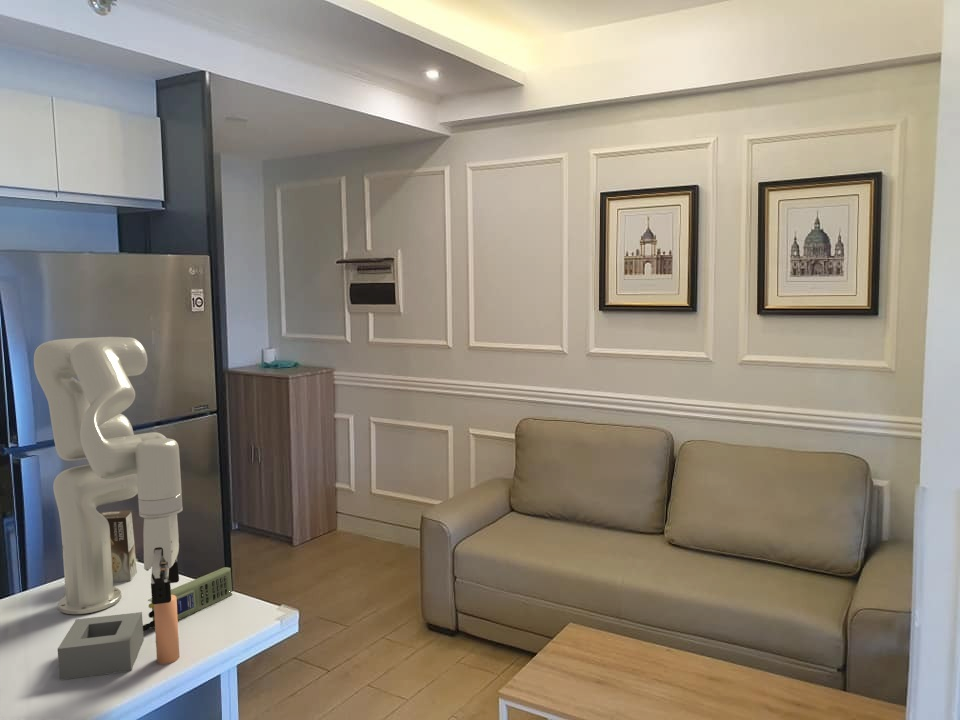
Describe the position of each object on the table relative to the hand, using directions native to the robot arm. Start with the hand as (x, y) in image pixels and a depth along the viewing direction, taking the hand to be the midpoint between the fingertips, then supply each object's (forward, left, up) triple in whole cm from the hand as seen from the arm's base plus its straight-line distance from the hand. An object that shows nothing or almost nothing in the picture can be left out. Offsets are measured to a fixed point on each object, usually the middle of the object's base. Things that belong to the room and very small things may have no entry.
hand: (166, 592), depth 137 cm
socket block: (-4, -12, -14) cm, 19 cm away
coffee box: (-46, -19, -14) cm, 51 cm away
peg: (-1, 0, -14) cm, 14 cm away
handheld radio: (-20, 0, -14) cm, 24 cm away
